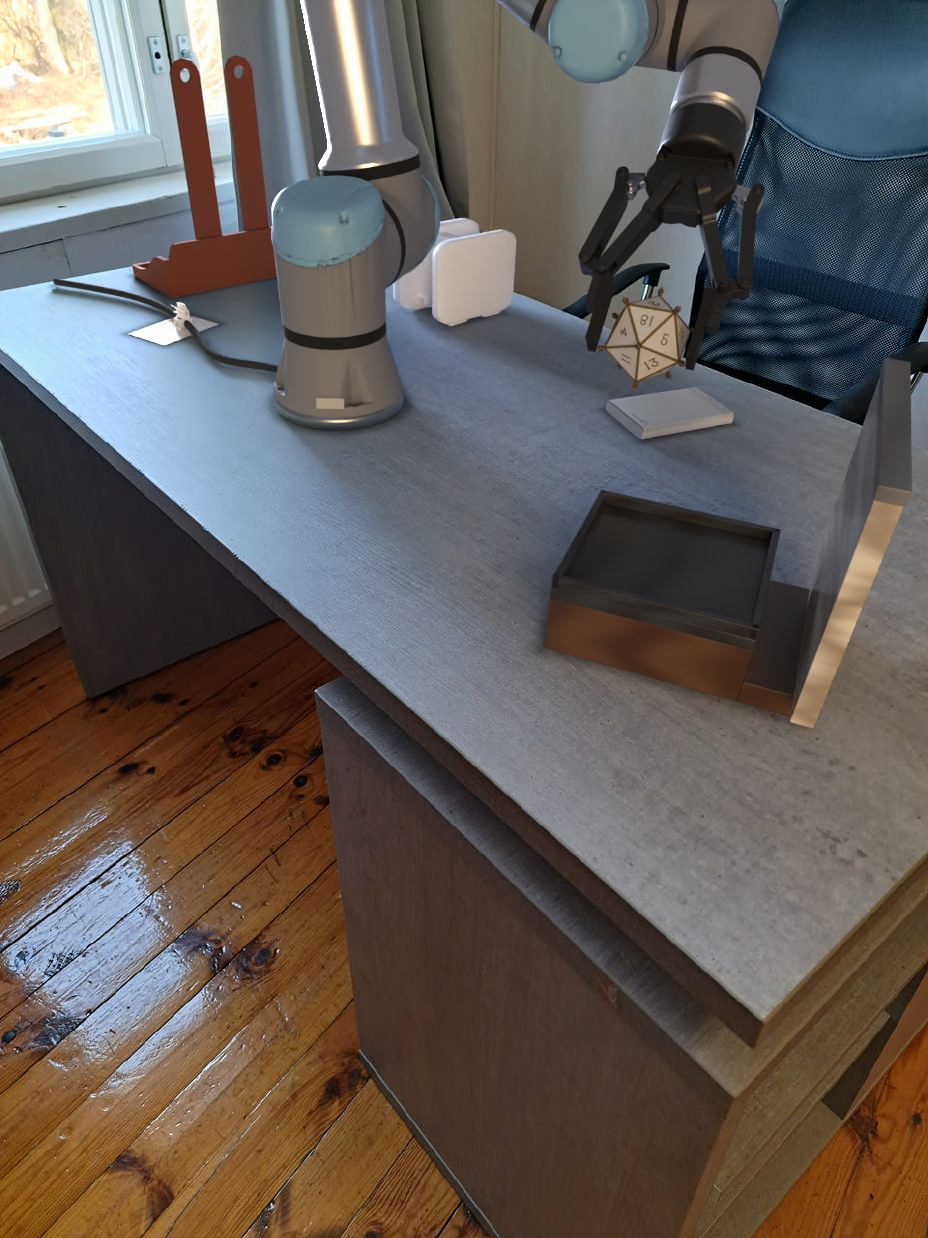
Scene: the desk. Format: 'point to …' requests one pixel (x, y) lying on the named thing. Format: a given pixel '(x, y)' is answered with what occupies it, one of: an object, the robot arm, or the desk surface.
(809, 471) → the desk surface
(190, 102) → the hanging shelf
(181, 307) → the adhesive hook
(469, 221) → the cable organizer
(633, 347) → the game die
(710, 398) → the hard drive
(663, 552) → the holder
